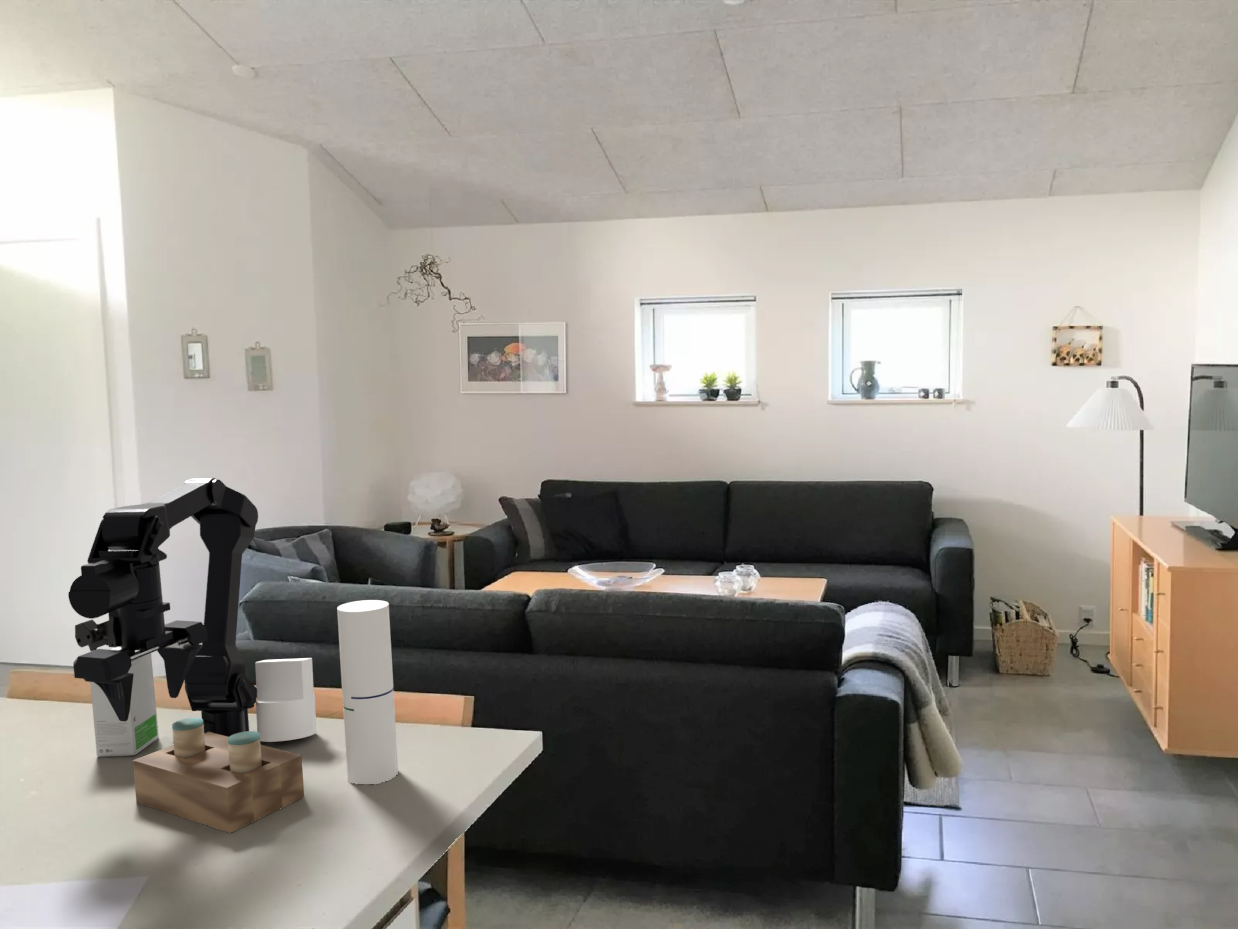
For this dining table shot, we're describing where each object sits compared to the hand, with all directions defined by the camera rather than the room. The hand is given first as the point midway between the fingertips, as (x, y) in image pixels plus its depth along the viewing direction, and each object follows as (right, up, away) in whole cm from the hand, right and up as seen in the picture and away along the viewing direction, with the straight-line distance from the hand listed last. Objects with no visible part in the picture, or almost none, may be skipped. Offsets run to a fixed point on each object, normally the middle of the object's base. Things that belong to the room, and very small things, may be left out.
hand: (149, 708), depth 137 cm
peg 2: (+15, -8, -4) cm, 18 cm away
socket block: (+10, -12, -1) cm, 16 cm away
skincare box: (-13, -11, +21) cm, 27 cm away
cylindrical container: (+29, -11, +6) cm, 32 cm away
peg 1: (+5, -8, +2) cm, 10 cm away
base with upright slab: (+12, -10, +22) cm, 27 cm away
